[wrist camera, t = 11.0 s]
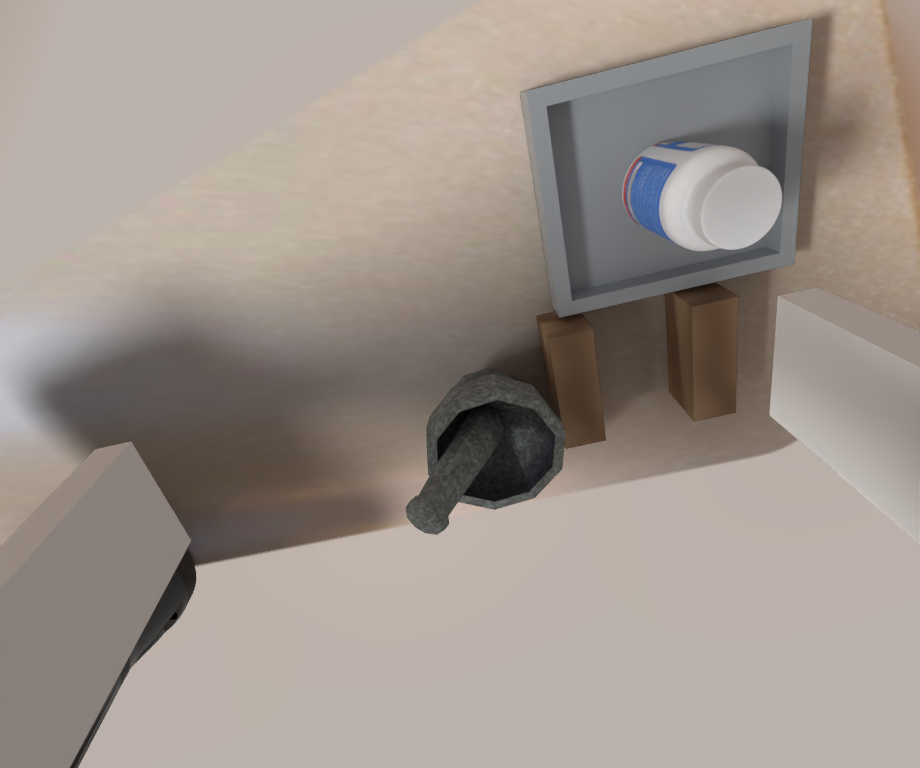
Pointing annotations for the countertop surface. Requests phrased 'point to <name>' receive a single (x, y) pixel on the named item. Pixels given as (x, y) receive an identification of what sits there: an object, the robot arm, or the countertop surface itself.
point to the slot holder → (689, 361)
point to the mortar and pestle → (487, 448)
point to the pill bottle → (701, 195)
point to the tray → (645, 124)
